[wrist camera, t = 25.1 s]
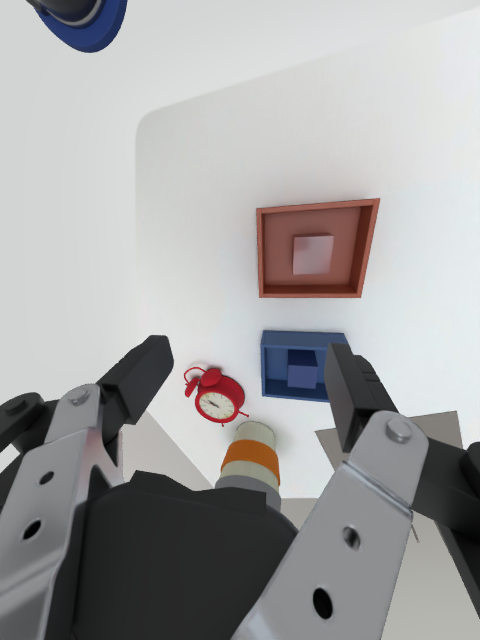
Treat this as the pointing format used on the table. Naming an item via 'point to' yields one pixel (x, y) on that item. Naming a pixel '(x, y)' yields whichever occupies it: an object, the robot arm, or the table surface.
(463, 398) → the table surface
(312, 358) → the navy block
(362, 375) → the robot arm
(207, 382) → the alarm clock
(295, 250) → the red block
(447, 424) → the architectural model
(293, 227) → the terracotta bin
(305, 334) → the blue bin
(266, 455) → the reusable coffee cup
